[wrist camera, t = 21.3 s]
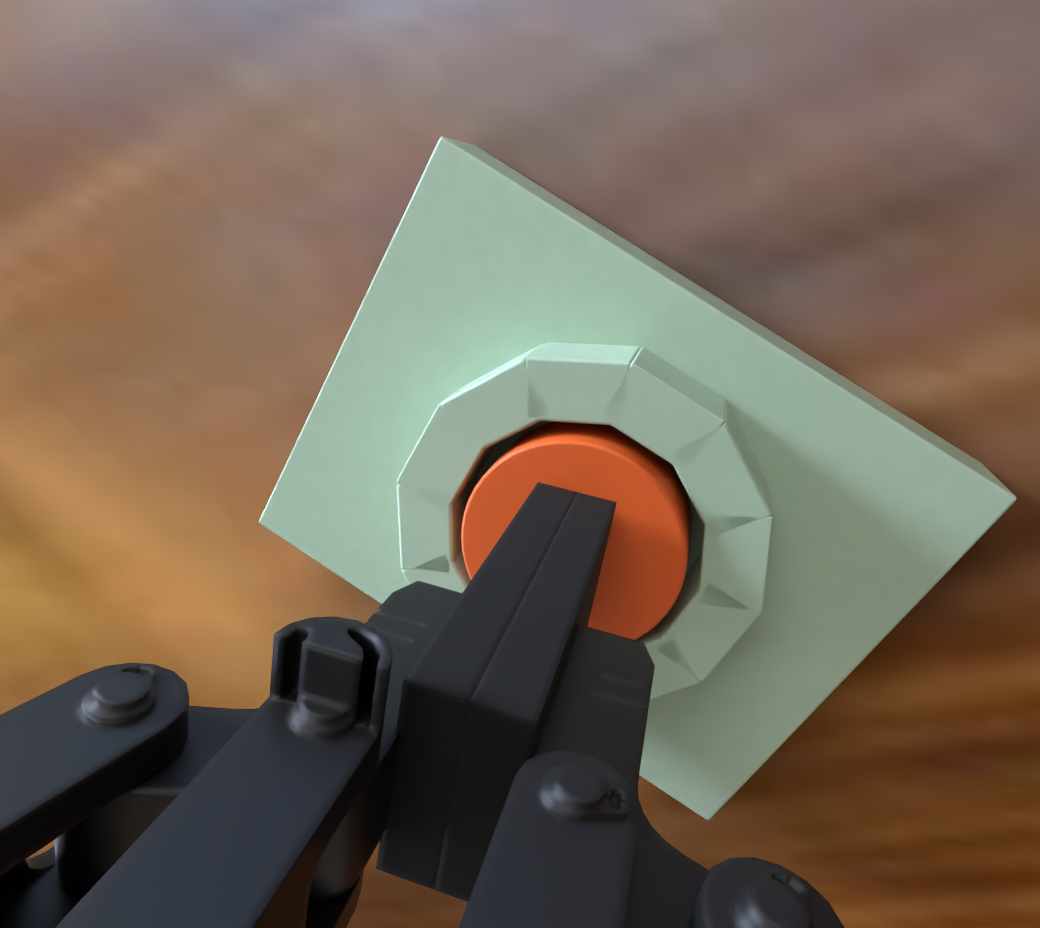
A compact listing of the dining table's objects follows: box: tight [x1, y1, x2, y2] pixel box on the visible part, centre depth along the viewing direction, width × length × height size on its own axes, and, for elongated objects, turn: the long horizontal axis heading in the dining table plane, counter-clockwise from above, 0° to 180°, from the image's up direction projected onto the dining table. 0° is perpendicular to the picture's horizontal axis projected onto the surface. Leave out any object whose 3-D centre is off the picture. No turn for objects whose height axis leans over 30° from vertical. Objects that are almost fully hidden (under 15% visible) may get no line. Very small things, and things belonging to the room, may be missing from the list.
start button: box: [461, 421, 691, 640], centre depth 15 cm, size 4×4×2 cm
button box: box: [259, 137, 1016, 820], centre depth 17 cm, size 13×10×4 cm
